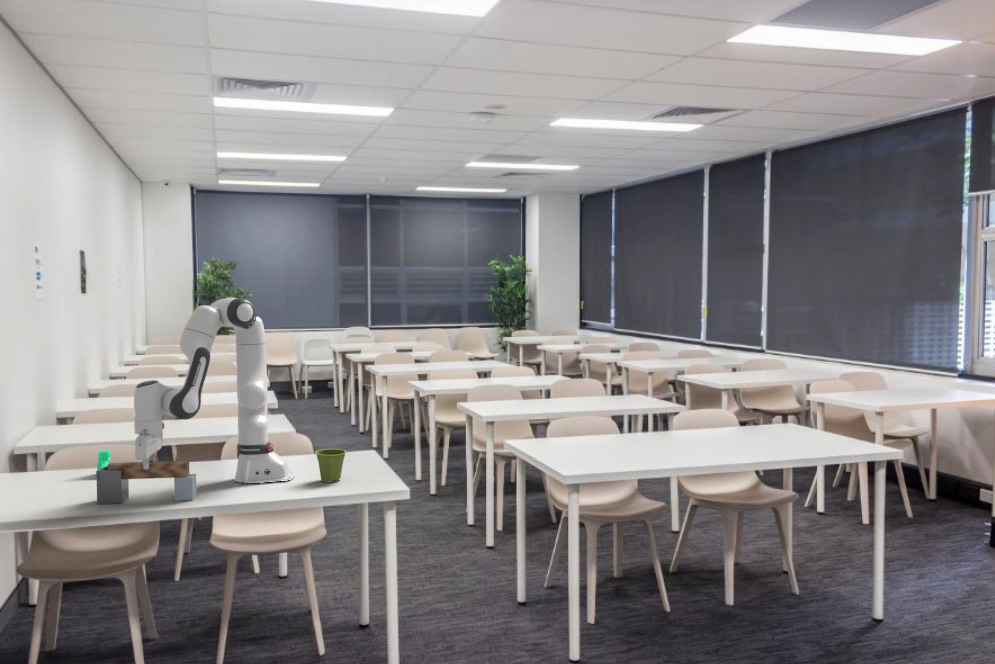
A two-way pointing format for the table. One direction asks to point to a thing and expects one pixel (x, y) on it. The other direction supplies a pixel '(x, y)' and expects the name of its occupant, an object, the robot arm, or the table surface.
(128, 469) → the rail
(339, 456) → the plant pot
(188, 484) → the block
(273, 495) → the table surface
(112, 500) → the cup bracket
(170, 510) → the table surface
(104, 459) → the camera mount
